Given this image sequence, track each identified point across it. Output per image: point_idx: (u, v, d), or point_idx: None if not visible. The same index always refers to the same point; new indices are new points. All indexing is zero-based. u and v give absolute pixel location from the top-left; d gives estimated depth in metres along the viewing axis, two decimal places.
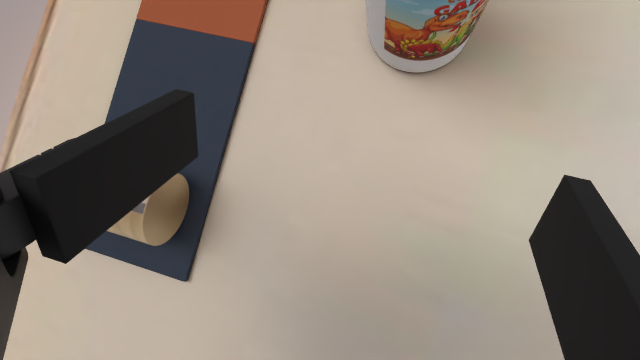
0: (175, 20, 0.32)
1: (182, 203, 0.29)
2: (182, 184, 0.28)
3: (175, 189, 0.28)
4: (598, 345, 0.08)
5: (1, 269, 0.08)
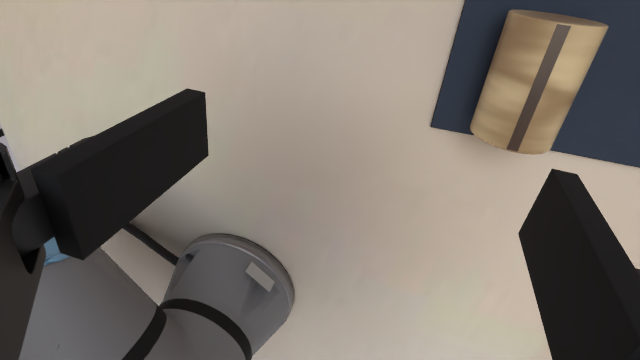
0: None
1: None
2: None
3: None
4: (579, 331, 0.08)
5: (20, 266, 0.08)
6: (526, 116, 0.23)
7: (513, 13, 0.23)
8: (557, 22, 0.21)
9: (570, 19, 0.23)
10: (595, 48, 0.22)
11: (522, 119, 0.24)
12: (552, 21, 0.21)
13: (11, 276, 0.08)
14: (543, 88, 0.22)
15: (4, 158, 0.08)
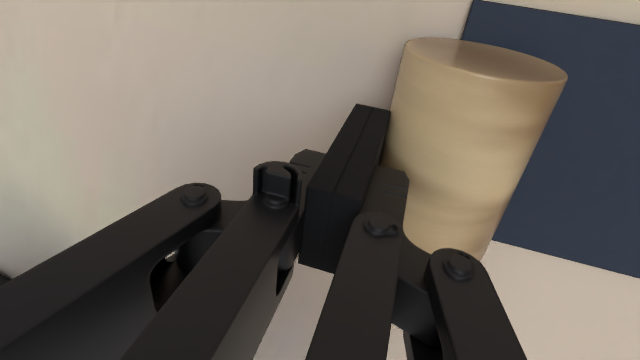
0: None
1: None
2: None
3: None
4: None
5: (273, 289, 0.08)
6: None
7: (466, 41, 0.16)
8: (414, 40, 0.14)
9: (477, 59, 0.13)
10: (416, 93, 0.13)
11: None
12: (417, 39, 0.15)
13: (265, 300, 0.08)
14: None
15: (297, 185, 0.09)
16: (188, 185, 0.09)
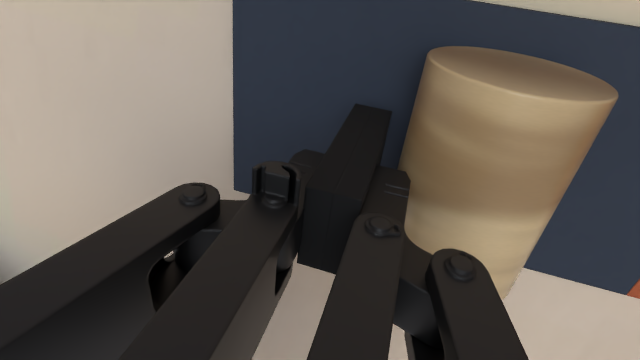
0: None
1: None
2: None
3: None
4: None
5: (272, 289, 0.08)
6: None
7: (597, 103, 0.10)
8: (602, 82, 0.11)
9: (509, 62, 0.12)
10: None
11: None
12: (605, 84, 0.11)
13: (264, 299, 0.08)
14: None
15: (296, 185, 0.09)
16: (187, 185, 0.09)
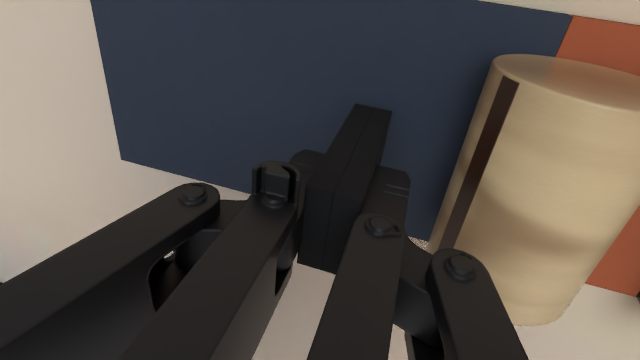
0: None
1: None
2: None
3: None
4: None
5: (272, 289, 0.08)
6: (453, 227, 0.13)
7: (507, 55, 0.13)
8: (507, 73, 0.11)
9: (607, 87, 0.11)
10: (593, 151, 0.10)
11: (453, 231, 0.14)
12: (504, 70, 0.11)
13: (264, 299, 0.08)
14: (476, 188, 0.12)
15: (296, 185, 0.09)
16: (186, 185, 0.09)
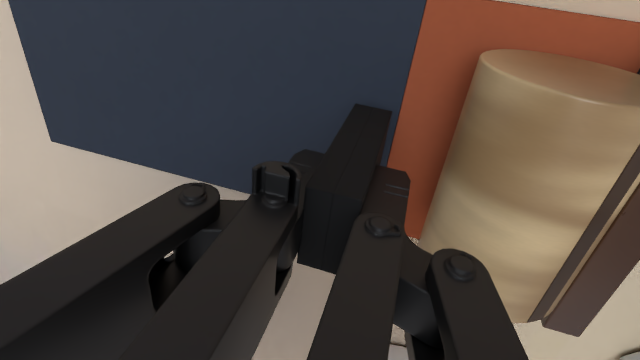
0: (417, 93, 0.15)
1: None
2: None
3: None
4: None
5: (272, 289, 0.08)
6: (567, 272, 0.12)
7: (532, 85, 0.10)
8: None
9: (596, 74, 0.11)
10: None
11: (556, 276, 0.12)
12: None
13: (264, 299, 0.08)
14: (603, 225, 0.11)
15: (296, 185, 0.09)
16: (187, 185, 0.09)
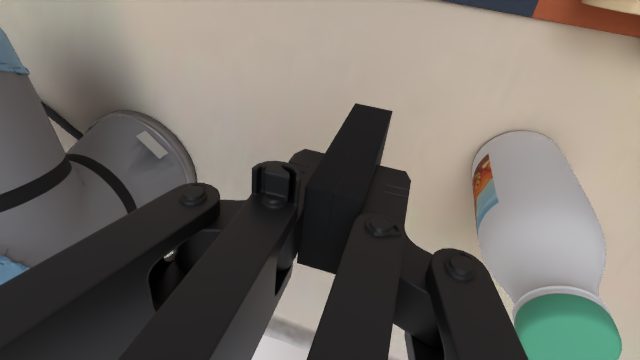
0: None
1: None
2: None
3: None
4: None
5: (272, 289, 0.08)
6: None
7: None
8: None
9: None
10: None
11: None
12: None
13: (264, 299, 0.08)
14: None
15: (296, 185, 0.09)
16: (186, 185, 0.09)
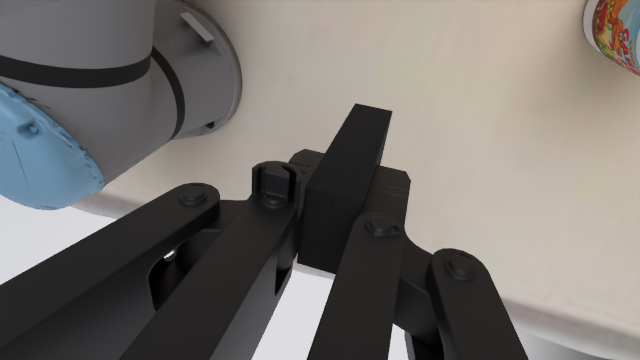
0: None
1: None
2: None
3: None
4: None
5: (272, 289, 0.08)
6: None
7: None
8: None
9: None
10: None
11: None
12: None
13: (263, 299, 0.08)
14: None
15: (296, 185, 0.09)
16: (186, 185, 0.09)
